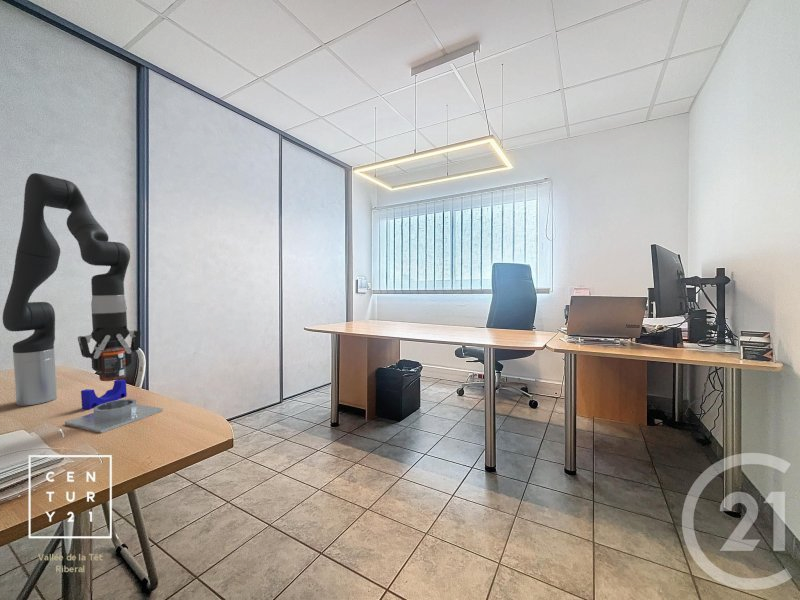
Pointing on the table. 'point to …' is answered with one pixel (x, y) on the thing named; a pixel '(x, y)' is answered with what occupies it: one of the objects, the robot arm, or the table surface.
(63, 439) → the table surface
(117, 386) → the blue notched bracket
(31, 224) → the robot arm
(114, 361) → the supplement bottle
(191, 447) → the table surface
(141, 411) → the duct panel
